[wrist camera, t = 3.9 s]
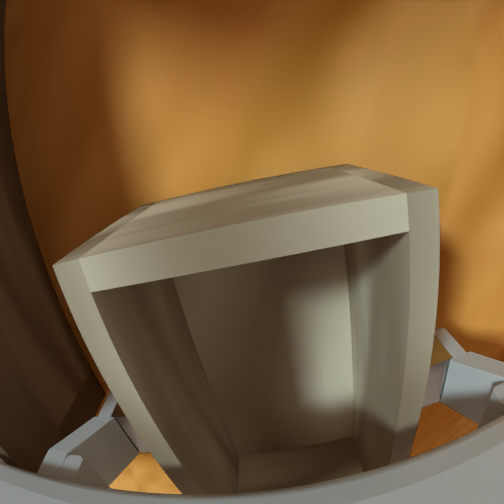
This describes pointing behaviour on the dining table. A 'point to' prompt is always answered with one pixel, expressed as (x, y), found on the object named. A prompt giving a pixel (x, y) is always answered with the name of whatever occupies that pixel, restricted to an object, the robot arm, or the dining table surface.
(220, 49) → the dining table surface
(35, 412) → the walnut crate
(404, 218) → the birch crate
